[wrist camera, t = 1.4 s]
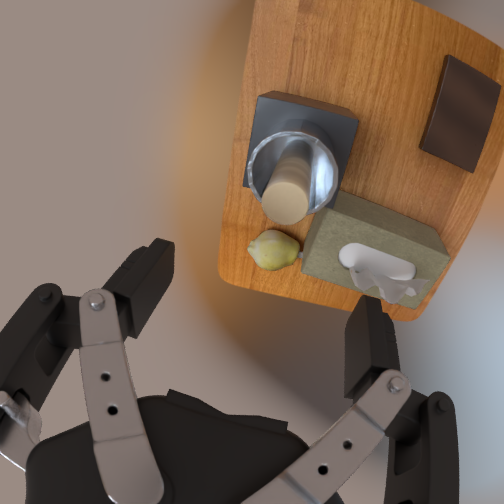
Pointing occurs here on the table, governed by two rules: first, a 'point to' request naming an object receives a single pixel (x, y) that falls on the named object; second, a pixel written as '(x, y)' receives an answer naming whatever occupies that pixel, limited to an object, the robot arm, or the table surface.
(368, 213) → the tissue box
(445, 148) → the board
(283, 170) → the stick
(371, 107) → the table surface
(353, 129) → the stand
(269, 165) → the tin
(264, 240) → the fruit
